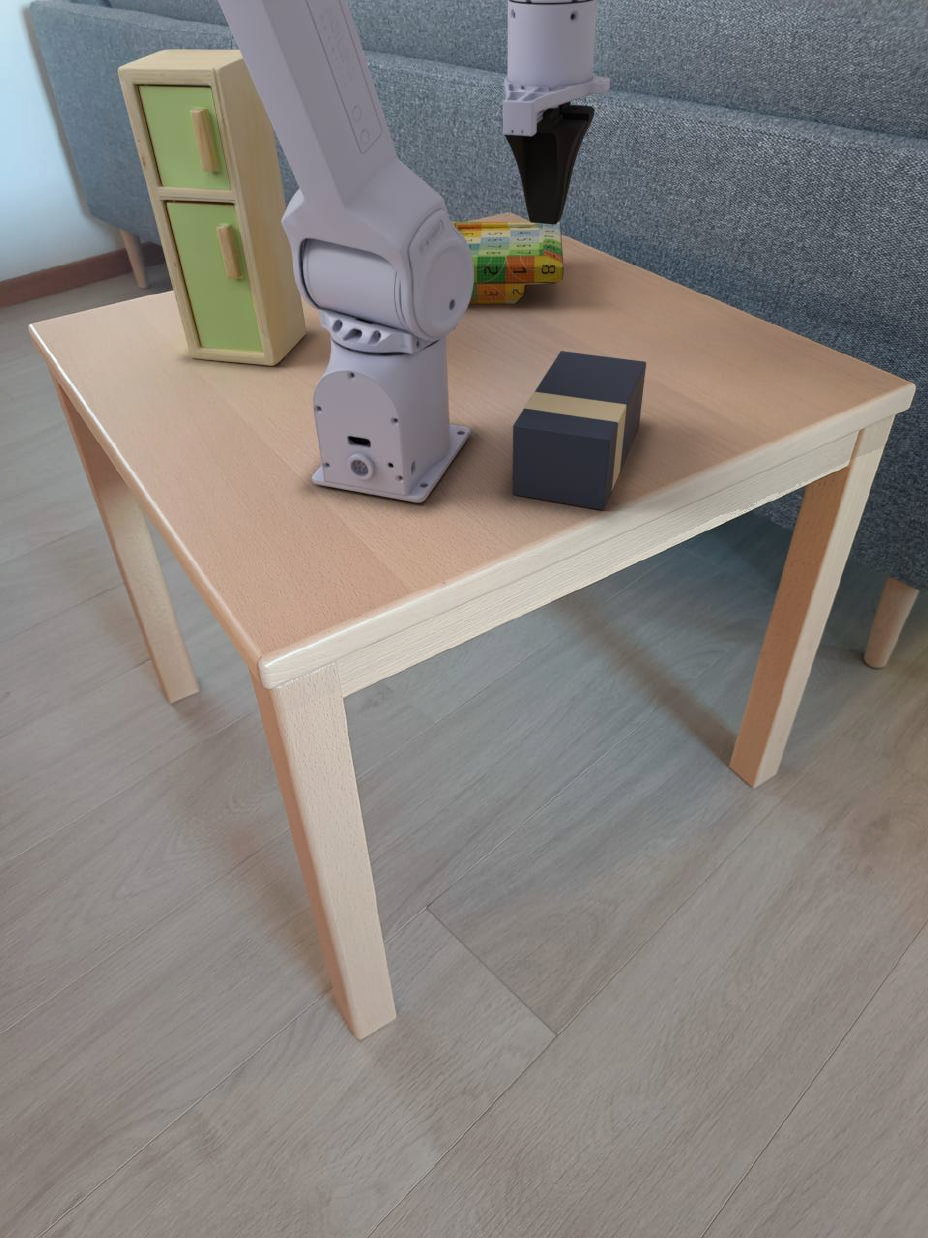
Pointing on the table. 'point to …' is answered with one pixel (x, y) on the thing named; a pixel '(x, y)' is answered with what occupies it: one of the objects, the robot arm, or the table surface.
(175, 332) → the table surface
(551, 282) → the puzzle game
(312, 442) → the table surface
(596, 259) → the table surface
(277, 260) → the toy refrigerator
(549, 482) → the carton
